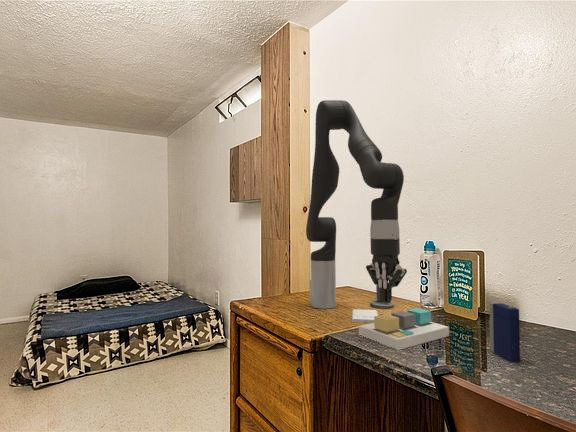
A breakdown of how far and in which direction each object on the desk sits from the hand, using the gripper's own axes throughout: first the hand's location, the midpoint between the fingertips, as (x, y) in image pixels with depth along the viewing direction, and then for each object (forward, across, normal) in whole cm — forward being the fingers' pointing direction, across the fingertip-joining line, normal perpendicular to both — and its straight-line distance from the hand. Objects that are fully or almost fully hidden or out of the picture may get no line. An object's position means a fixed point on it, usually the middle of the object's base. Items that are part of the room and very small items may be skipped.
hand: (386, 302), depth 96 cm
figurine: (+10, -28, +27) cm, 40 cm away
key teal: (+7, 0, +13) cm, 15 cm away
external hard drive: (+10, -20, +11) cm, 25 cm away
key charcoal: (+7, 0, +7) cm, 10 cm away
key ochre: (+7, 0, 0) cm, 7 cm away
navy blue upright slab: (+10, +23, +14) cm, 29 cm away
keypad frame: (+10, 0, +7) cm, 12 cm away
